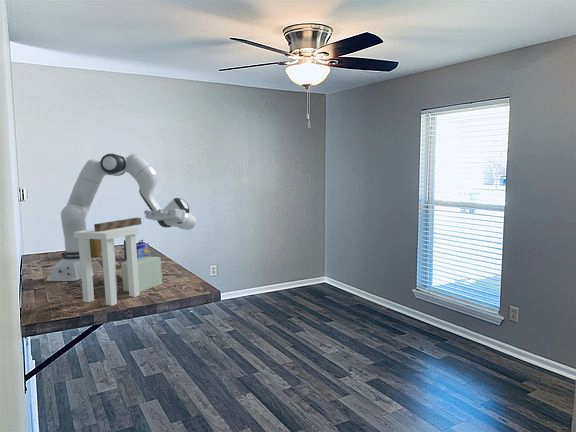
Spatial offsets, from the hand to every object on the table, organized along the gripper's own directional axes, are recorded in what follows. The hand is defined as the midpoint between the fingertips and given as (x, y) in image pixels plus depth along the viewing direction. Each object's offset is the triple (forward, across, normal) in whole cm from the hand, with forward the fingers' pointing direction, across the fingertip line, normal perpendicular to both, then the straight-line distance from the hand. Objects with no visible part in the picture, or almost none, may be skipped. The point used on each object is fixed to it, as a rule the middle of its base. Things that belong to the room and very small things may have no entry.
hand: (152, 211), depth 214 cm
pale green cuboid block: (0, 0, +37) cm, 37 cm away
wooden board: (+20, +3, +12) cm, 24 cm away
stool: (+18, +1, +43) cm, 46 cm away
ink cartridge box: (-36, -41, +22) cm, 59 cm away
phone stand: (-45, -62, +17) cm, 78 cm away
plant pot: (-42, -92, +16) cm, 103 cm away
